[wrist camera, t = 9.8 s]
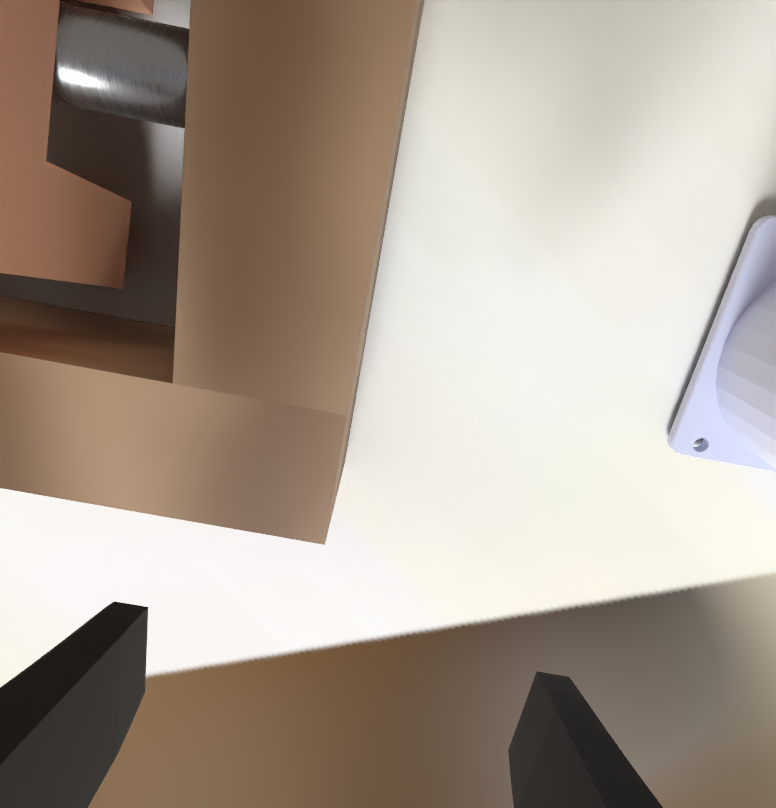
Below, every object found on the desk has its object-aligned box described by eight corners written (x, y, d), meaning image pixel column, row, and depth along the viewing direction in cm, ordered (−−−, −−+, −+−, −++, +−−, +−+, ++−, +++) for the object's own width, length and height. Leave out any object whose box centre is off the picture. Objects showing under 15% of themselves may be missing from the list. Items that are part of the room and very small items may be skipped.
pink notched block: (162, -86, 15) (9, -366, 9) (122, 288, 16) (-32, 269, 10) (32, -112, 14) (-214, -415, 9) (3, 266, 16) (-224, 233, 10)
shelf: (489, -375, 13) (537, -724, 8) (343, 465, 20) (324, 544, 15) (-307, -559, 12) (-769, -1053, 7) (-150, 376, 20) (-327, 430, 15)
